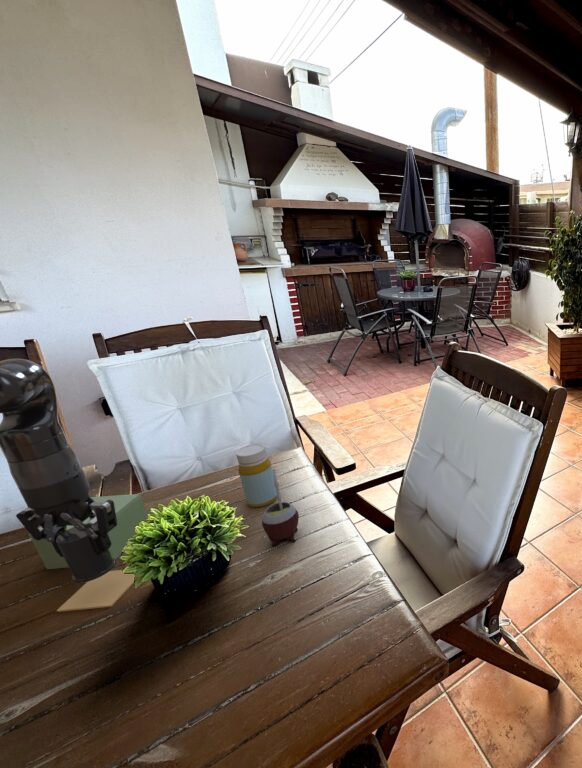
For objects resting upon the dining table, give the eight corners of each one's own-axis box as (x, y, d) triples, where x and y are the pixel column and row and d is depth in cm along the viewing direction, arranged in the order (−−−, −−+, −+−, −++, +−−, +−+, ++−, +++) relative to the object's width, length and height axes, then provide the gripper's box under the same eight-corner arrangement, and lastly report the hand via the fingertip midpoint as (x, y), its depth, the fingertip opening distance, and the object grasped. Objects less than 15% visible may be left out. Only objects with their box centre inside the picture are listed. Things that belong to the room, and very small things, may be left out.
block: (46, 569, 82) (28, 534, 79) (96, 529, 93) (81, 497, 90) (111, 563, 84) (95, 529, 81) (152, 525, 95) (139, 493, 92)
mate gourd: (282, 553, 87) (267, 495, 81) (257, 542, 90) (242, 486, 84) (310, 531, 93) (298, 476, 88) (287, 522, 96) (274, 468, 91)
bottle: (241, 506, 102) (226, 454, 96) (263, 490, 108) (250, 441, 103) (263, 510, 100) (250, 458, 95) (284, 494, 106) (273, 444, 101)
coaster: (57, 612, 73) (56, 610, 73) (98, 573, 81) (97, 572, 81) (111, 606, 74) (110, 605, 74) (146, 569, 82) (146, 567, 82)
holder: (64, 584, 73) (44, 545, 70) (91, 560, 78) (73, 523, 75) (99, 581, 73) (80, 542, 70) (124, 557, 79) (107, 520, 76)
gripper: (-23, 490, 64) (22, 571, 70) (77, 484, 66) (113, 563, 72) (25, 465, 71) (62, 541, 77) (113, 460, 73) (143, 534, 79)
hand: (86, 551), depth 74 cm, fingers closed on holder, 5 cm apart
